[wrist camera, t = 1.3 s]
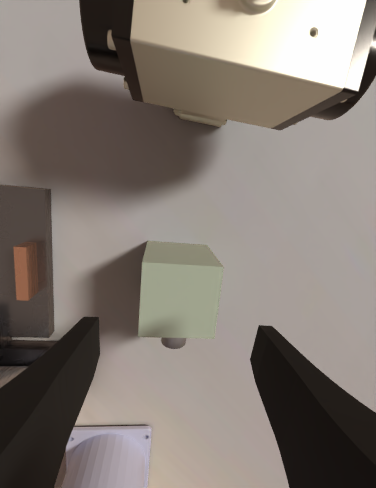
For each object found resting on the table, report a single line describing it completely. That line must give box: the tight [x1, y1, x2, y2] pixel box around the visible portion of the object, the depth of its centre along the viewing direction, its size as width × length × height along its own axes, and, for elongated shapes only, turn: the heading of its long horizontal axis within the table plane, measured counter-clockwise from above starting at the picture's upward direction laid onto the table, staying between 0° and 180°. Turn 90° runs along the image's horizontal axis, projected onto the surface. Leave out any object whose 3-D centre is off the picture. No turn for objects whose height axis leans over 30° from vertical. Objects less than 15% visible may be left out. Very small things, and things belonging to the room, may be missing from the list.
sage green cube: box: [138, 241, 224, 349], centre depth 19 cm, size 7×5×6 cm
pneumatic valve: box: [79, 0, 376, 130], centre depth 13 cm, size 6×12×12 cm, turn 81°
